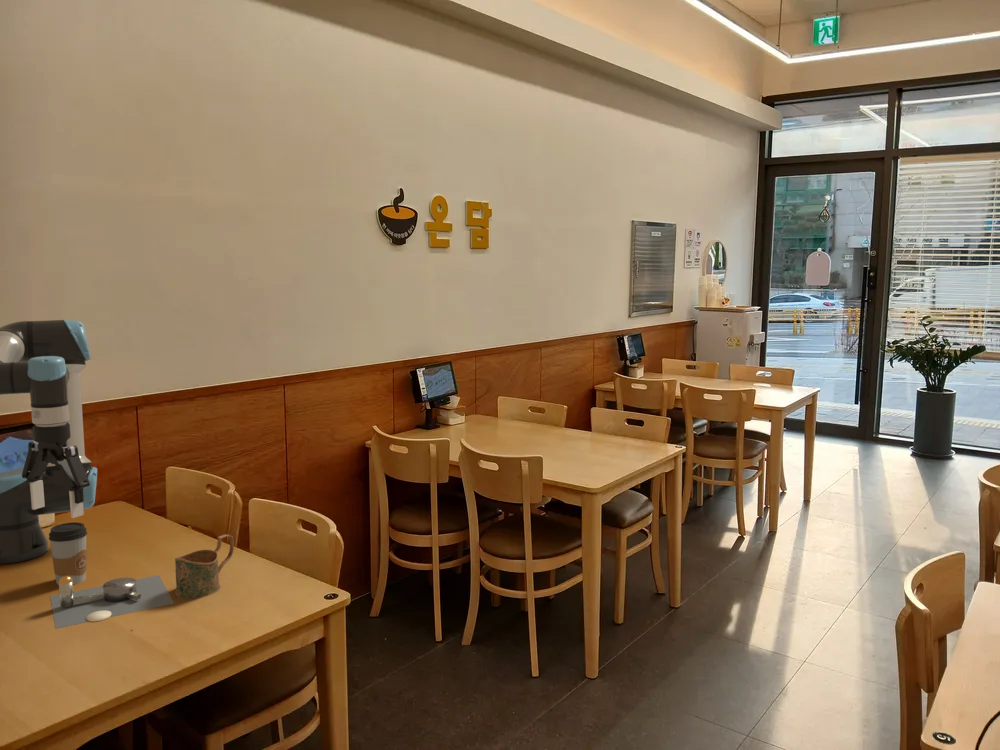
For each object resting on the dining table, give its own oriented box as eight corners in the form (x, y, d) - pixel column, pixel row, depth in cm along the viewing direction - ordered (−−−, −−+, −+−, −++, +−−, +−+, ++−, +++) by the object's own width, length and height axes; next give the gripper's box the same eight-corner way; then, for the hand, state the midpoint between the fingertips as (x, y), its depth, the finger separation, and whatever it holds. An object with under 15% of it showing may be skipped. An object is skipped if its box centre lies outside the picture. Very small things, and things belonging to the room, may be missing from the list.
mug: (251, 581, 197) (249, 535, 195) (197, 608, 181) (195, 558, 179) (216, 573, 202) (214, 528, 200) (161, 599, 186) (159, 550, 184)
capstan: (133, 583, 191) (132, 555, 190) (141, 600, 181) (139, 571, 180) (58, 598, 183) (56, 568, 182) (62, 617, 173) (60, 586, 172)
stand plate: (50, 600, 184) (50, 594, 184) (159, 579, 197) (158, 573, 197) (56, 635, 167) (56, 628, 167) (175, 609, 180) (174, 603, 180)
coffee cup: (74, 593, 189) (69, 533, 187) (44, 590, 191) (39, 531, 189) (98, 579, 197) (94, 522, 195) (69, 577, 199) (65, 520, 197)
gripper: (0, 421, 181) (7, 509, 184) (73, 432, 171) (79, 524, 174) (30, 415, 188) (37, 500, 191) (103, 425, 178) (108, 514, 181)
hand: (57, 512), depth 182 cm, fingers open, 13 cm apart
